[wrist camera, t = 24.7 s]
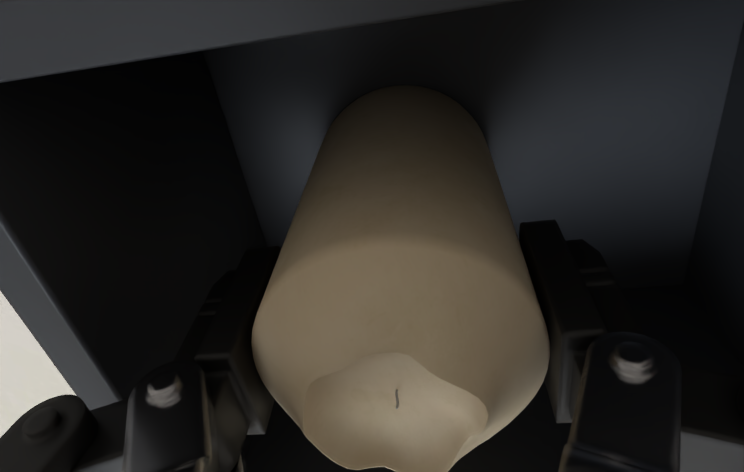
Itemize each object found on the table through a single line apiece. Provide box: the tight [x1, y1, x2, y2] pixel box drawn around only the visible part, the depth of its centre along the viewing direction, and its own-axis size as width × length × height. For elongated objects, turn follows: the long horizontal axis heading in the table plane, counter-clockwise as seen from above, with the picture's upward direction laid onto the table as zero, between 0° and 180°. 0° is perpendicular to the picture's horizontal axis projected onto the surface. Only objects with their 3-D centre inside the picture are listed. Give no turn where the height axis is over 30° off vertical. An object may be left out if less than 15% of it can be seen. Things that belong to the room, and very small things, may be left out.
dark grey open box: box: [0, 0, 744, 472], centre depth 13 cm, size 17×14×10 cm
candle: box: [251, 85, 550, 472], centre depth 12 cm, size 6×6×10 cm
